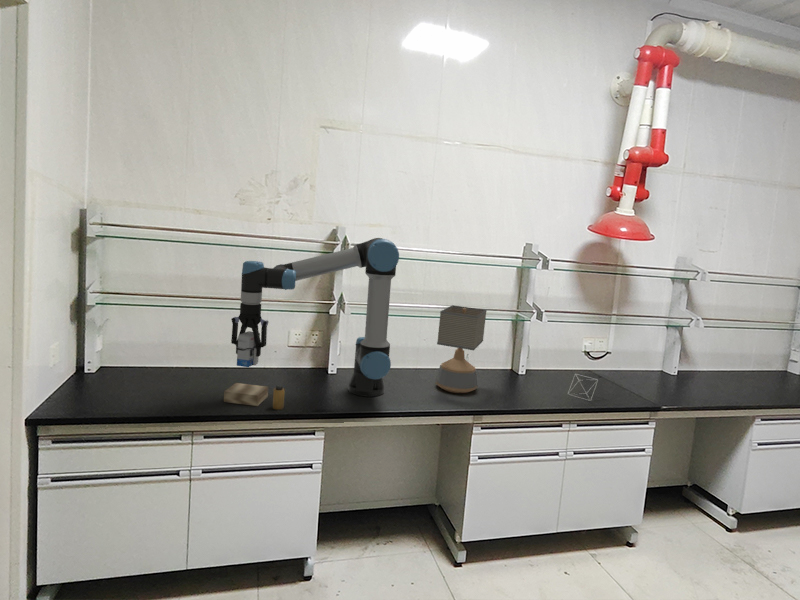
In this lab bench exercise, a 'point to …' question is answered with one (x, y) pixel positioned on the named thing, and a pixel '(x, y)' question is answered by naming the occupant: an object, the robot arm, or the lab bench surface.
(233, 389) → the beech plinth
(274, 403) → the amber bottle
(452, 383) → the desk lamp
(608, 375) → the lab bench surface
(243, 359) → the ink box
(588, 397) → the geometric polyhedron
